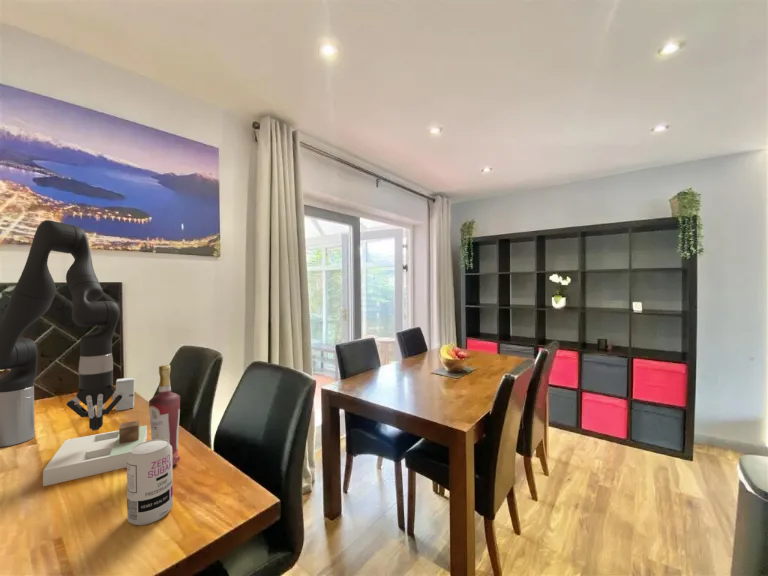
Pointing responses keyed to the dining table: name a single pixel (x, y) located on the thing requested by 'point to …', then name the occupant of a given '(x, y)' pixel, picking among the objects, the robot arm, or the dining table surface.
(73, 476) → the trap plank
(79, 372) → the robot arm
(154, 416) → the liquor
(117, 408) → the skincare box
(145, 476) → the supplement can
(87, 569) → the dining table surface
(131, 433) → the walnut block
